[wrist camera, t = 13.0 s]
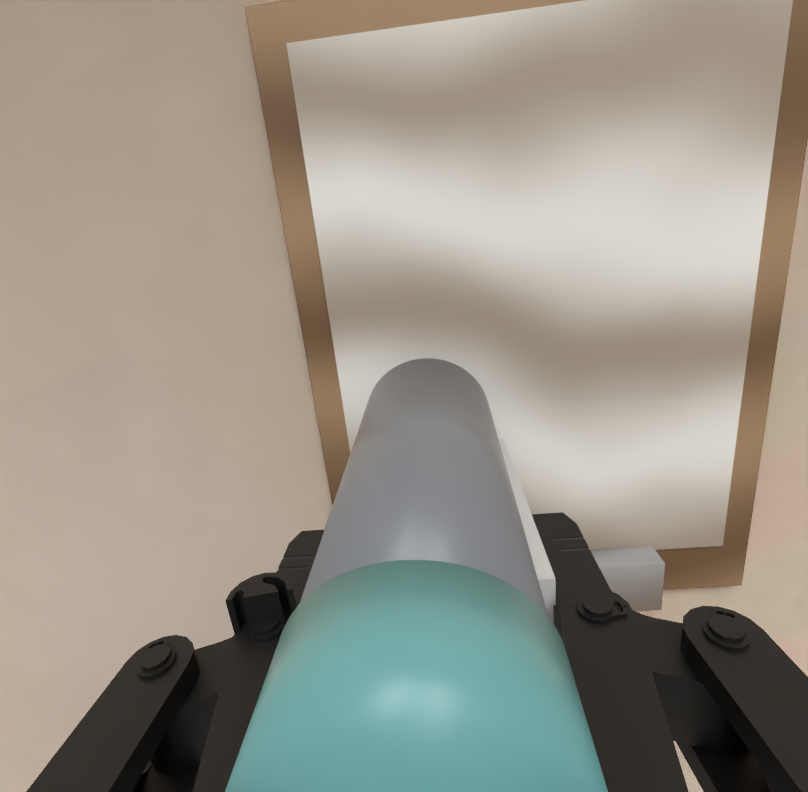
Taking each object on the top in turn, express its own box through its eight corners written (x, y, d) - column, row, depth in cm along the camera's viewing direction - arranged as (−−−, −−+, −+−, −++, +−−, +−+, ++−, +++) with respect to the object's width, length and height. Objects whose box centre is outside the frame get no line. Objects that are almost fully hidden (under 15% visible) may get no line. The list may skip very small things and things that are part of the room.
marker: (352, 361, 16) (146, 755, 4) (473, 330, 15) (590, 690, 4) (392, 478, 17) (314, 990, 6) (503, 453, 16) (651, 973, 5)
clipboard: (251, 15, 13) (227, -15, 12) (824, -71, 12) (885, -117, 10) (352, 598, 20) (345, 630, 18) (733, 576, 18) (762, 609, 17)
